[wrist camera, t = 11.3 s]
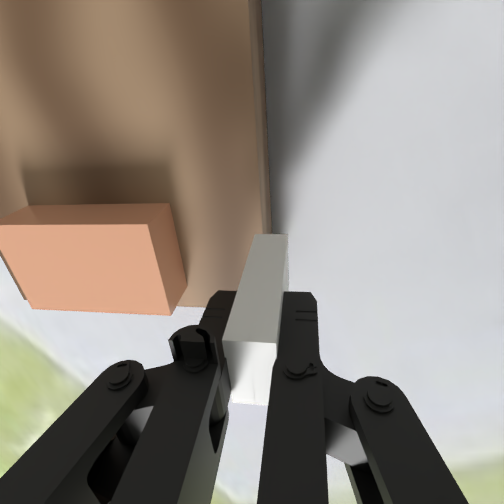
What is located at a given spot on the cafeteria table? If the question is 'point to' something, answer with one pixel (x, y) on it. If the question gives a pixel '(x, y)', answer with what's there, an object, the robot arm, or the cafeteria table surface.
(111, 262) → the terracotta tile
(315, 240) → the cafeteria table surface
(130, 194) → the deck
